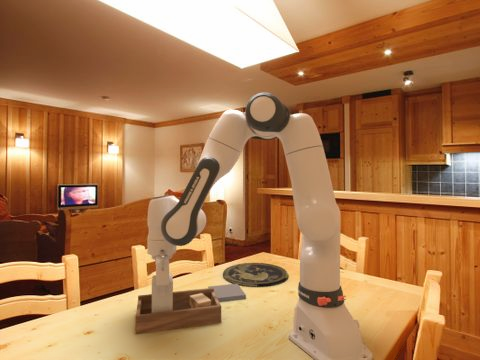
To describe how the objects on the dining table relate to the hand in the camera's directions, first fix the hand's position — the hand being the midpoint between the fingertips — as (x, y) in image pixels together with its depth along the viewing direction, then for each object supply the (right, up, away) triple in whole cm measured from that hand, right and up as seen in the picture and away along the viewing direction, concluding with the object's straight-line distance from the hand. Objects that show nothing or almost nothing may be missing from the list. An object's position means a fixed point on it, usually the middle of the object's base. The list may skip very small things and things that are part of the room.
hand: (162, 290), depth 91 cm
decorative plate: (+32, -10, +42) cm, 54 cm away
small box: (0, -9, 0) cm, 9 cm away
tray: (+5, -9, +1) cm, 11 cm away
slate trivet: (+19, -9, +20) cm, 29 cm away
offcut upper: (+12, -7, +3) cm, 14 cm away
